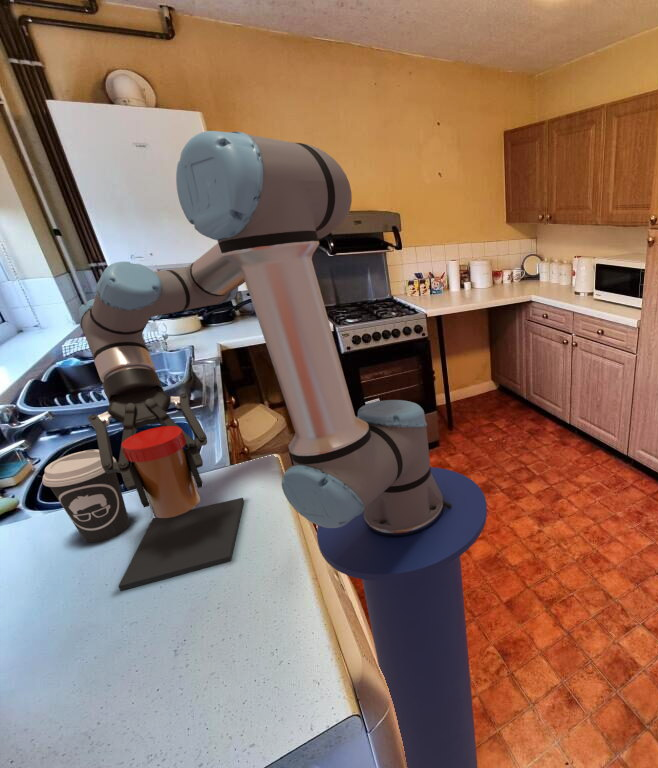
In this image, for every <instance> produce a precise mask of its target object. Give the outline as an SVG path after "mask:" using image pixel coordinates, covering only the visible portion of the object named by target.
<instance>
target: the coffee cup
mask: <svg viewBox="0 0 658 768" xmlns="http://www.w3.org/2000/svg"><path fill="white" fill-rule="evenodd" d="M113 461H114V462H117V459H116V458H115V457H114V456H113ZM42 484H43V486H45V487H48V488H50V490H51V491H52V493H53V494H54V496H55V497H56V500H57V501H58V502H59V504H60V505H61V506H62V508H63V509H64V511H65V513H66V514H67V516H68V517H69V519H70V521H71V522H72V523H73V525H74V527H75V528H76V530H77V531H78V532H79V534H80V536H81V537H82V539H83V540H84V541H85V542H87V543H97V542H98V543H99V542H102V541H105V540H110V539H112V538H113V537H115V536H117V535H119V534H121V533H122V532H124V531H126V529H127V528H128V527H129V526H130V523H131V521H130V518H129V515H128V512H127V508H126V507H127V506H126V504H125V501H124V497H123V493H122V489H121V485H120V482H119V478H118V474H117V472H115V473H111V474H107V473H106V472H105V471H104V469H103V468H102V464H101V459H100V453H99V448H98V449H87V450H83V451H78V452H74V453H71V454H70V453H69V454H67V455H65V456H62V457H60V458H57V459H55V460H54V461H52V462H50V463H49V464H48V465H47V466H45V468H44V474H43V475H42Z"/></svg>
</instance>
